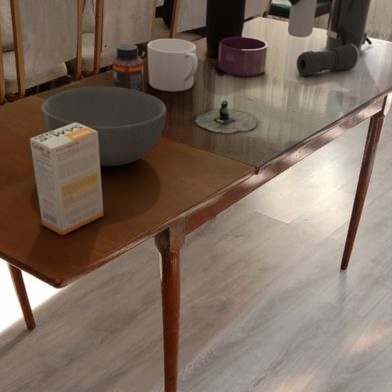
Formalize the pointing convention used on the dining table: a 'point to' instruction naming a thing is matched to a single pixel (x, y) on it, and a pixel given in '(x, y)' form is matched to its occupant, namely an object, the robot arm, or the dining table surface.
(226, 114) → the sculpture
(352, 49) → the flashlight
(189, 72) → the mug
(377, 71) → the dining table surface
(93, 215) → the supplement box
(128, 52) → the supplement bottle
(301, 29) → the beverage can
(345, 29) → the robot arm
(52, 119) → the bowl
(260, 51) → the plum bowl
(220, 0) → the portable speaker
